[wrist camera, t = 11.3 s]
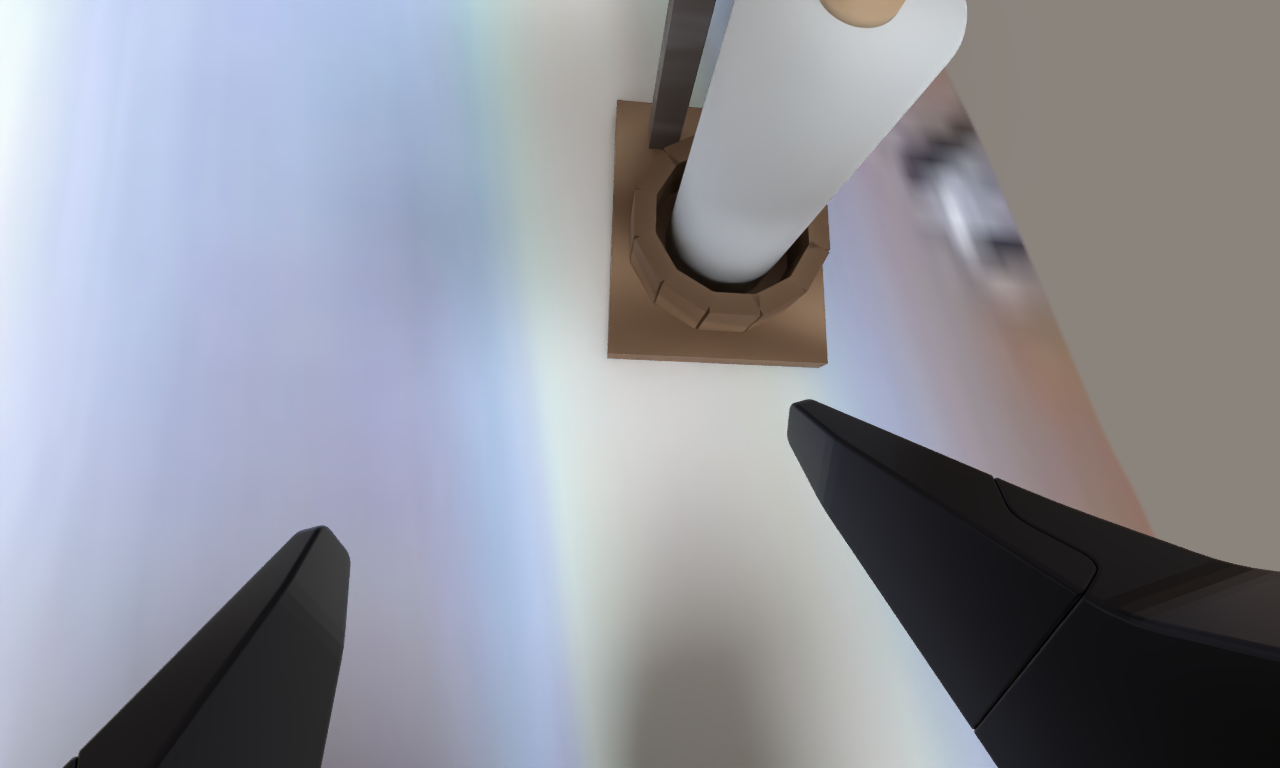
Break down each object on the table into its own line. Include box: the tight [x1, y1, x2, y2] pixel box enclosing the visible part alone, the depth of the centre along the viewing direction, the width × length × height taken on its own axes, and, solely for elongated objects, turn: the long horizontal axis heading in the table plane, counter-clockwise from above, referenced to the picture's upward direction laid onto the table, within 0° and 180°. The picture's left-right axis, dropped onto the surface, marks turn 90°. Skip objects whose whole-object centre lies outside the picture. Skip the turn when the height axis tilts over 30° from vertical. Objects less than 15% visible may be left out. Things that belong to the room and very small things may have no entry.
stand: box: [608, 0, 830, 368], centre depth 18 cm, size 14×11×14 cm
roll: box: [665, 0, 967, 294], centre depth 18 cm, size 6×6×13 cm
